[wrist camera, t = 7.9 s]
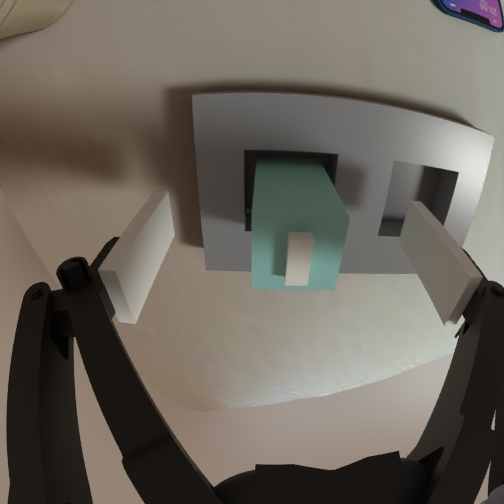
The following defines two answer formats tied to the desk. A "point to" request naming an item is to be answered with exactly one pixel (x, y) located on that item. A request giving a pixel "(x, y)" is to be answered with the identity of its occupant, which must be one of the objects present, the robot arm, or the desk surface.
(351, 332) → the desk surface
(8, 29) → the flower pot
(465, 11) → the smartphone
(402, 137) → the outlet plate
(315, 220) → the charger
